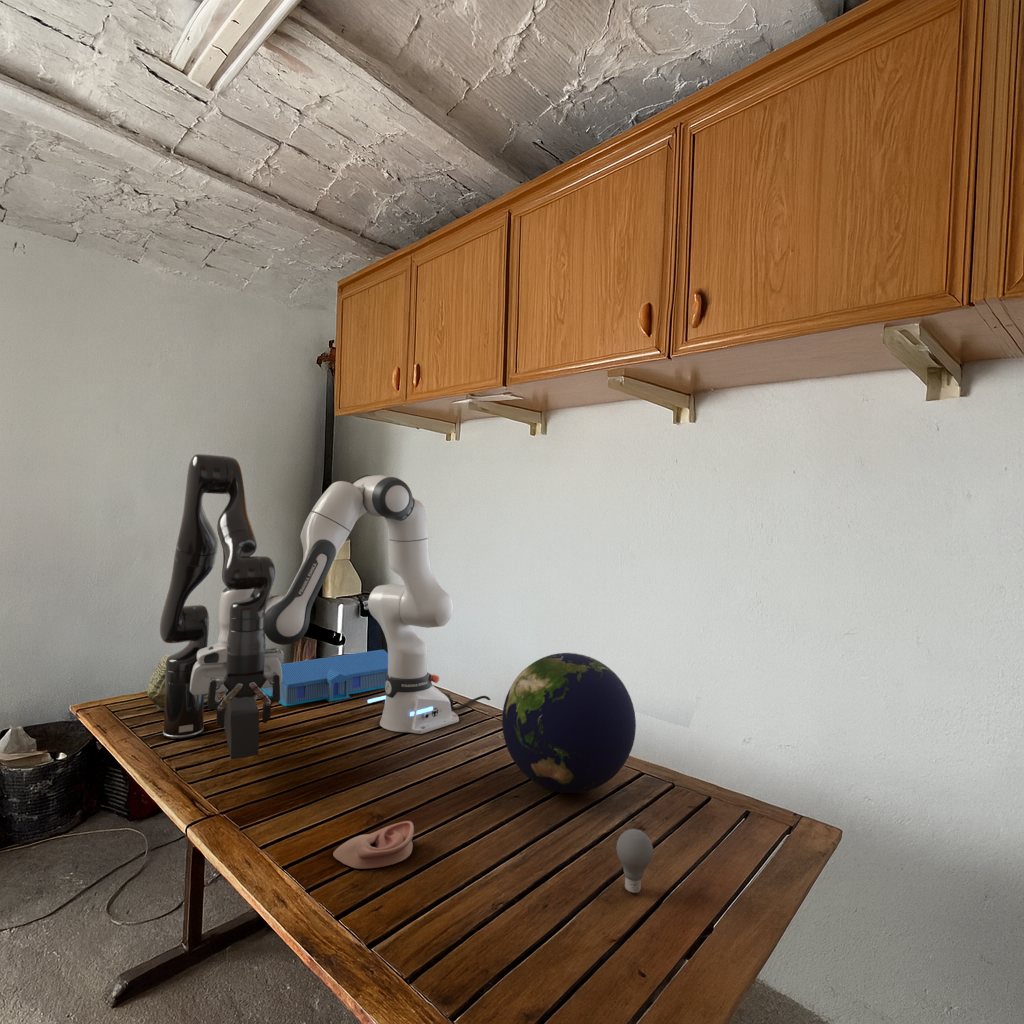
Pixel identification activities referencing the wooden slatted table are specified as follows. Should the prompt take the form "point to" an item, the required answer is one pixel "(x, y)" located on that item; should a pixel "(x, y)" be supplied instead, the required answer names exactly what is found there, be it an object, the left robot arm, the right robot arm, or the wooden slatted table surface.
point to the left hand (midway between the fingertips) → (243, 724)
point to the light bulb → (634, 857)
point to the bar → (242, 727)
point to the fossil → (161, 685)
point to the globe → (569, 723)
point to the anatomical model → (378, 847)
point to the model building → (332, 677)
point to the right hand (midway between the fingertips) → (236, 708)
